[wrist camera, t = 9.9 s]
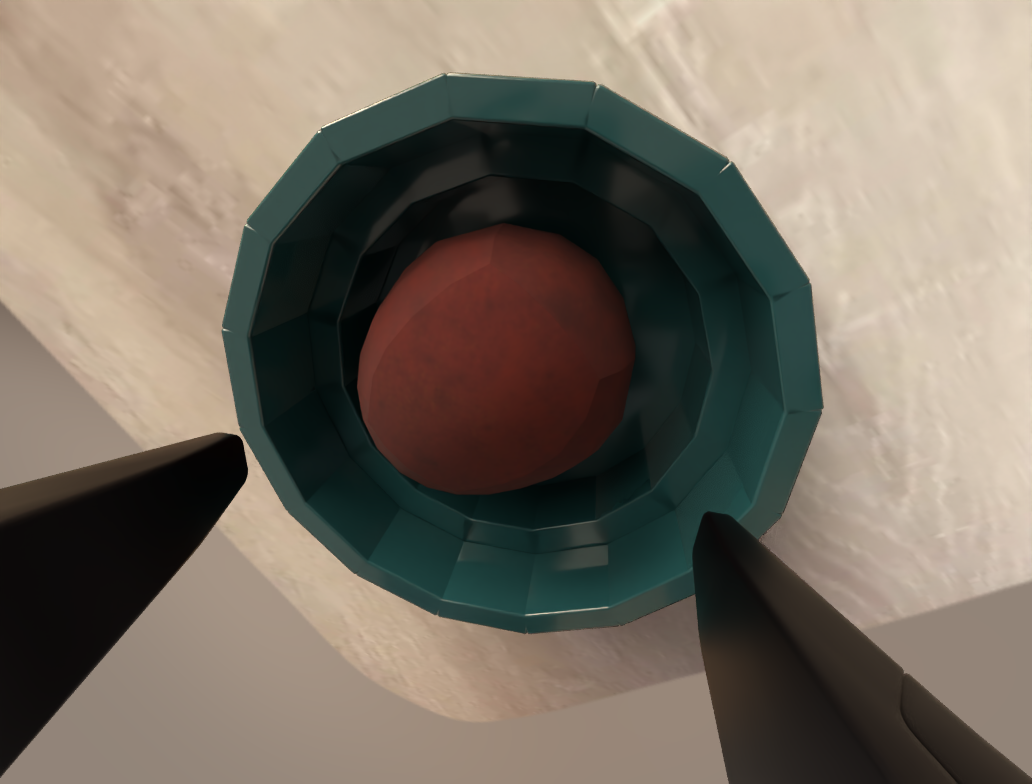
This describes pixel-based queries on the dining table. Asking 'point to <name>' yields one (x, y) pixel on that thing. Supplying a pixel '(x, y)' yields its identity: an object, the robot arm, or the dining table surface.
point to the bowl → (652, 315)
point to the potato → (496, 362)
